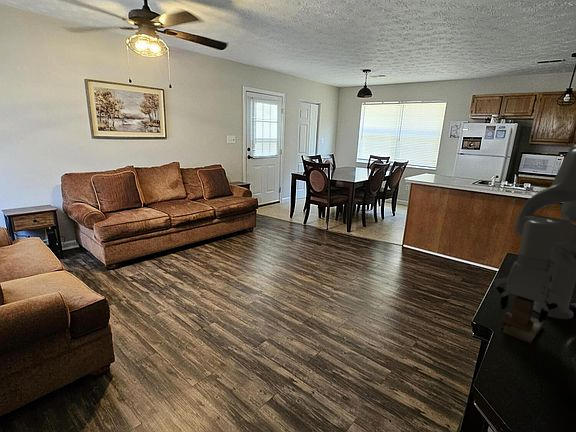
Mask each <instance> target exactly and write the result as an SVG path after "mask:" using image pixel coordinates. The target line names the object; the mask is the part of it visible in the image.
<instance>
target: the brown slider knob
mask: <svg viewBox="0 0 576 432" xmlns="http://www.w3.org/2000/svg"><path fill="white" fill-rule="evenodd" d="M533 306H534V301H533V300H529V299H526V298H523V297H520V296H517V295H516V297H515V298H514V303H513V308H512V312H509V311H506V312H505V313H504V314H503V315H502V317H501V322H500V328H502V329H504V326H505V325H506V324H510V325H513V326H515V327H518V328H520V329H523V330H526V331H528V332H530V331H531V329H532V328H533V325H534V321H532V320H530V319H531V317H532V315H533V311H534V310H533Z"/></svg>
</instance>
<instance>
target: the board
mask: <svg viewBox="0 0 576 432" xmlns="http://www.w3.org/2000/svg"><path fill="white" fill-rule="evenodd" d="M530 320H532V321H534V325H533V328H532V329H531V331H530V332H528V331H526V330H523V329H520V328H518V327H515V326H513V325H510V324H506V325H505V326H504V328H502V329H503V330H502V333H504V334H506V335H509V336H511V337H514V338H515V339H519V340H521V341H524V342H526V343H529V344H531V343H532V341H533V340H534V339H535V337H536V336H537V335H538V334H539V331H540V330H541V329H542V328H543V323H544V320H543V321H542V323H540V322H539V318H538V319H537V318H535V317H532V316H531V319H530Z"/></svg>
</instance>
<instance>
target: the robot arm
mask: <svg viewBox="0 0 576 432" xmlns="http://www.w3.org/2000/svg"><path fill="white" fill-rule="evenodd" d="M556 204H562V205H561V207H560V213H559V215H560V217H561V218H557V217H551V216H546V215H540V214H536V212H538V211H539V210H541V209H543V208H544V207H549V206H552V205H556ZM573 223H575V224H576V144H572V146H570V147H569V150H568V152H567V153H566V155H565V156H564V159H563V161H562V163H561V165H560V166H559V169H558V171H557V173H556V176H555V177H554V179H553V181H552V184H551V185H550V186H549V187H547V188H545V189H542V190H541V191H538V192H537V193H536V194H534V195H532V196H531V197H530V198H528V200H526V202H525V203H524V204H523V206H522V207H521V209H520V211H519V214H518V215H517V218H516V221H515V223H514V231H515V233H516V234H517V235H518V236H520V237H521V240H520V245H519V249H518V254H517V259H516V260H515V261H514V262H513V264H512V266H511V268H510V272H509V274H508V277H502V278H496V279H494V281H493V282H494V285H495V288H496V290H497V292H498V293H499V294H500V295H499V296H500V304H499V305H500V306H501V307H500V308H501V309H500V310H505V309H506V308H507V307H508V303H509V299H510V296H509V295H510V294H511V295H514V296H516V297H517V296H520V297H523V298H526V299H529V300H533V301H534V306H533V310H532V311H535V312H536V313H538V314H539V317H538V320H539V322H540V323H542V321H543V322H544V321H546V320H547V318H548V317H549V318H553V319H558V320H570V319H573V317H574V315H575V314H574V312H573V311H572V310H571V309H570V304H571V301H572V295H573V291H574V289H575V284H576V259H575V257H574V256H576V225H575V224H573ZM505 283H506V285H505V289H504V287H503V286H502V284H505Z"/></svg>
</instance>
